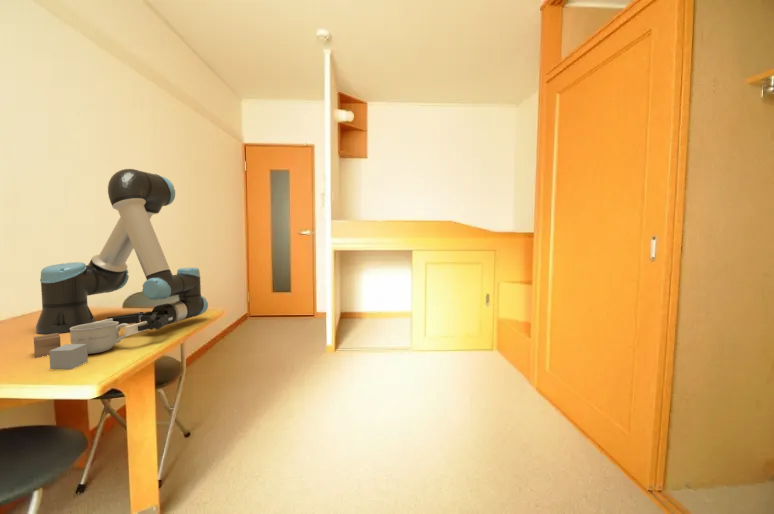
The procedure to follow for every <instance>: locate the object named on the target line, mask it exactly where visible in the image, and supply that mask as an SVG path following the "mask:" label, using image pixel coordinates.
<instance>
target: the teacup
mask: <svg viewBox="0 0 774 514" xmlns="http://www.w3.org/2000/svg"><path fill="white" fill-rule="evenodd" d="M118 324H119V322H117V321H104V322H97V321H95V323H88V324H82V325H78V326H74V327H71V328H70V329H69V330H70V332H69V333H70V344H87V355H90V354H91V355H92V354H99V353H103V352H107V351H109V350H111V349H112V348H113V347H114V346H116V344H118V343H120V342H121V341H122V340H124V339H125V338H126V337H128V336H125V333H124V334H122V335H121V336H119V335H120V334H119V332H120V329H121V328H125V327H126V326H130V325H131V324H127V323H122V324H120V325H118Z"/></svg>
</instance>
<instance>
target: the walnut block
mask: <svg viewBox="0 0 774 514" xmlns="http://www.w3.org/2000/svg"><path fill="white" fill-rule="evenodd" d="M61 346H62V345H61V335H60V333H54V334H42V335H36V336H33V348H34V350H33V351H34V358H35V359H37V357H38V358H42V356H44V357H48V356H47V355H49V351H50V350H53V349H55V348H58V347H61ZM49 356H50V355H49Z"/></svg>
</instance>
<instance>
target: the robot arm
mask: <svg viewBox="0 0 774 514" xmlns="http://www.w3.org/2000/svg"><path fill="white" fill-rule="evenodd" d="M107 195H108V199H109V201H110V204H111V207H112V209H114V210H116V211H118V214H119V216H120V217H119V219H118V220H117V222H116V224H115V226H114V228H113V229H112V231H111V233H110V235H109V236H108V239H107V240H106V242H105V244H104V246H103V248H102V249H101V251H100V253H99V254H96V255H93V256H92V257H91V259H90V261H89V262H88V264H87V265H86V263H84V262H79V261H78V262H65V263H64V262H63V263H57V264H52V265H51V264H50V265H47V266H45V267H43V268H42V269H41V271H40V279H39V282H40V287H41V288H40V289H41V290H40V291H41V308H42V309H41V312H40V315H39V317H38V320H37V322H36V326H35V332H36V334H39V335H40V334H42V335H48V334H55V333H59V334H61V333H63V334H64V333H70V330H69V329H70V328H71V327H74V326H78V325H82V324H88V323H95V322H104V321H117V322H119V324H118V325H120V324H122V323H127V324H129V325H130V326H126V327H124V334H125V336H127V337H129V336H133V335H135V334H138V333H141V332H145V331H148V330H154V329H155V330H160V329H162V328H163V327H165V326H167V325H170V324H174V323H175V324H177V323H178V322H179V321H184V320H186V319H190V318H195V317H198V316H200V315H203V314H204V313H206V312H207V310H208V308H209V303H208V301H207V299H206V297H204V296H202V292H201V291H202V288H201V286H202V285H201V273H200V269H199V268H198V267H181V268H178V269H177V272H176V274H173V273H172V271H171V269H170V266H169V263H168V262H167V258H166V256H165V254H164V251H163V249H162V246H161V244H160V241H159V239H158V237H157V234H156V232H155V229H154V227H153V224H152V222H151V218H152V216H153V215H157V214H159V213H160V212H161V210H162V208H163V207H166V206H170V205H171V204H172V203H173V202H174V200H175V198H176V189H175V186H174V184H173V183H172V181H171V180H170V179H168V178H167V177H165V176H162V175H160V174H157V173H151V172H150V173H149V172H146V171H143V170H142V171H141V170H139V169H134V168H125V169H120V170H118V171H117V172H115V173H114V174H112V176H111V178H110V179H109V181H108V185H107ZM132 251H134V252H135V254H136V257H137V260H138V262H139V264H140V267H141V269H142V272H143V274H144V276H145V281H144V282H143V284H142V293H143V295H144V296H145V297H146V298H147V299H149V300H153V301H157V300H163V299H164V300H165V299H168V298H171V297H175V296H178V300H175V301H170V302H167V303H162V304H158V305H156V306H154V307H153V309H152V311H151V310H150V311H146V312H143V311H140V312H133V313H126V314H121V315H113V316H107V317H106V319H103V320H97V321H95V316H94V314H93V313H92V310H90V307H89V303H88V296H93V295H100V294H105V293H106V294H108V293H112V292H114V291H118V290H120V289H122V288H123V287H124V286H126V284H127V283H128V281H129V277H130V276H129V269H128V264H127V263H126V262H127V261H128V259H129V257H130V256H131V254H132Z"/></svg>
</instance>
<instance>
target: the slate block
mask: <svg viewBox="0 0 774 514" xmlns="http://www.w3.org/2000/svg"><path fill="white" fill-rule="evenodd" d="M88 360H89V358H88V354H87V344H71V343H69V344H68V343H67V344H63V345H61V347H58V348H55V349H53V350H50V351H49V370H50V369H63V370H73V368H74V369H76V368H77V366H78V367H79V365H80V366H81V364H82V365H83V363H84V364H86V363H87V361H88ZM85 362H86V363H85ZM75 367H76V368H75Z"/></svg>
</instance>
